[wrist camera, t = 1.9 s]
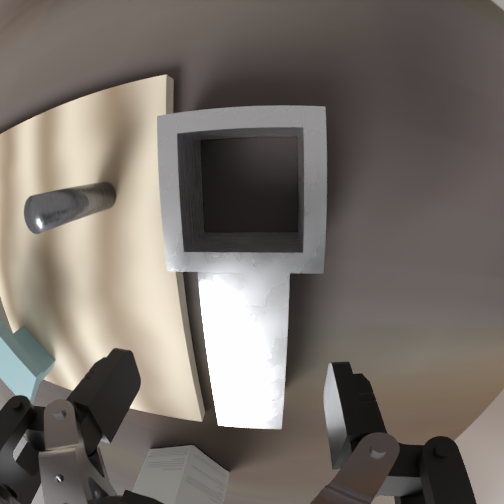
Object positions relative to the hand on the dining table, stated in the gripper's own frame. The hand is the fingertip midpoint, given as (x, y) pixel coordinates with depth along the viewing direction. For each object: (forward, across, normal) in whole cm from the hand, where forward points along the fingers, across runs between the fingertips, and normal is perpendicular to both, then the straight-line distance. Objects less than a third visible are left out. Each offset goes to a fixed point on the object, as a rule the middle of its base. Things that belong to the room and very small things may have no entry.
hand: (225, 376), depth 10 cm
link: (+8, 0, -1) cm, 8 cm away
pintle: (+8, +9, -6) cm, 14 cm away
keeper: (+8, +19, +5) cm, 21 cm away
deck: (+8, +15, 0) cm, 17 cm away
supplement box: (+8, +7, +24) cm, 26 cm away
